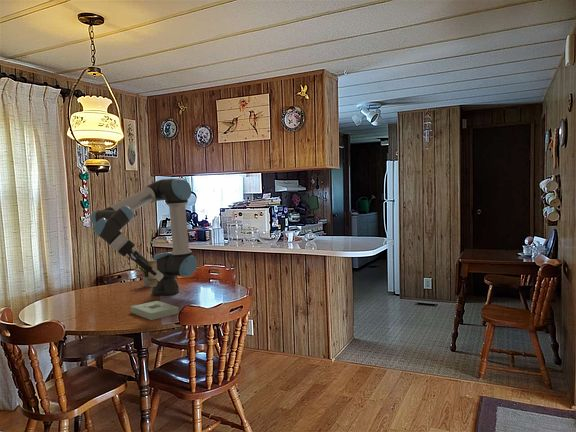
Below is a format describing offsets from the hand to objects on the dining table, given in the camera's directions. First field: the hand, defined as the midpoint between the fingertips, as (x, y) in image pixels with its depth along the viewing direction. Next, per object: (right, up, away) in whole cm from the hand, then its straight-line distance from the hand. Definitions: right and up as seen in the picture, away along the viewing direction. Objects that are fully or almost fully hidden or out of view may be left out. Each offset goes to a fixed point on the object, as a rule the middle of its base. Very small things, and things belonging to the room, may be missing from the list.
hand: (161, 278), depth 209 cm
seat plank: (-3, -16, 0) cm, 17 cm away
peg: (-4, -4, -1) cm, 5 cm away
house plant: (-26, -14, +66) cm, 73 cm away
